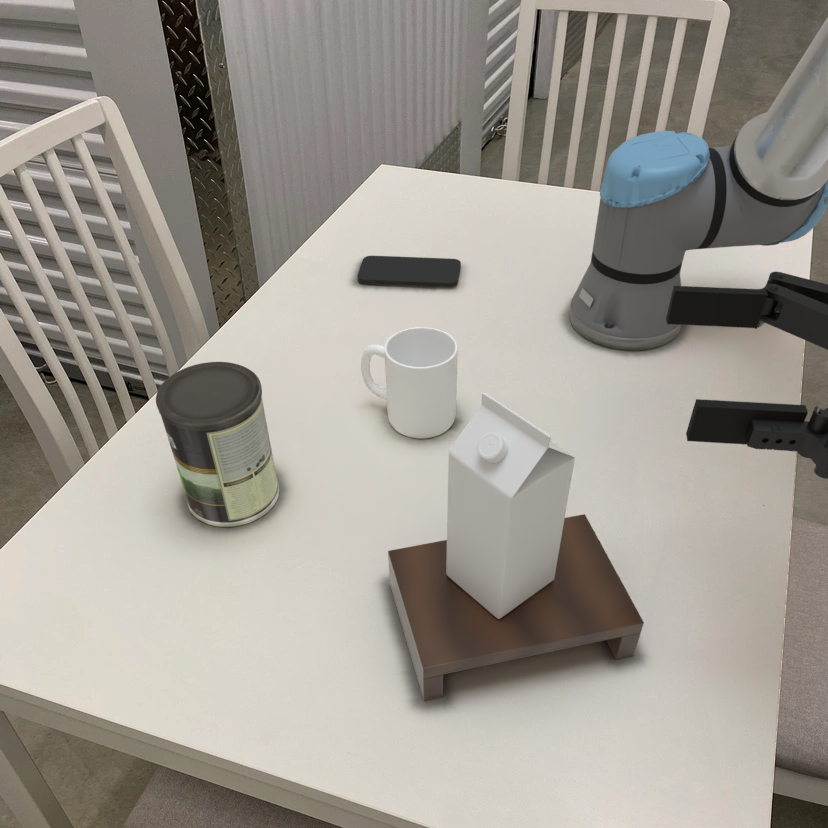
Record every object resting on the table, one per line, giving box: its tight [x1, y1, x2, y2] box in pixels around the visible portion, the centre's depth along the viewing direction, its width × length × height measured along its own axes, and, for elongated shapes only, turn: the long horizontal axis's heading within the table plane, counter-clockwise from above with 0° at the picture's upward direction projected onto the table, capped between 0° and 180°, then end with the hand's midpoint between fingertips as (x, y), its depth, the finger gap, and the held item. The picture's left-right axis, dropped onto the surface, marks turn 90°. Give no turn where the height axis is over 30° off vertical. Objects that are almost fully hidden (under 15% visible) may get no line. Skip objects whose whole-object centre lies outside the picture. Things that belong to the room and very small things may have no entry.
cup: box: [360, 326, 459, 439], centre depth 96 cm, size 8×12×10 cm
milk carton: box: [446, 391, 576, 619], centre depth 68 cm, size 7×7×19 cm
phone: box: [356, 255, 462, 288], centre depth 123 cm, size 7×1×15 cm
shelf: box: [387, 513, 645, 701], centre depth 77 cm, size 20×14×5 cm
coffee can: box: [155, 361, 281, 528], centre depth 86 cm, size 10×10×14 cm
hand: (679, 358), depth 56 cm, fingers open, 13 cm apart
